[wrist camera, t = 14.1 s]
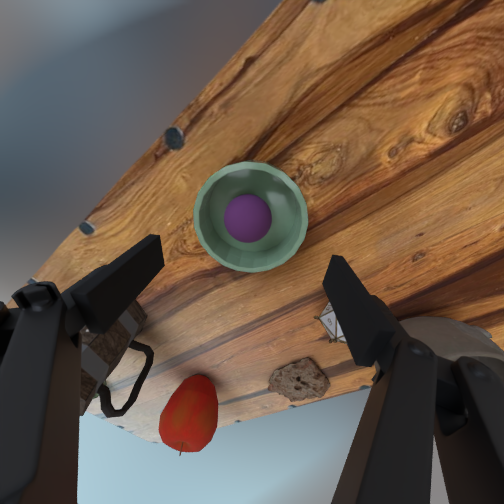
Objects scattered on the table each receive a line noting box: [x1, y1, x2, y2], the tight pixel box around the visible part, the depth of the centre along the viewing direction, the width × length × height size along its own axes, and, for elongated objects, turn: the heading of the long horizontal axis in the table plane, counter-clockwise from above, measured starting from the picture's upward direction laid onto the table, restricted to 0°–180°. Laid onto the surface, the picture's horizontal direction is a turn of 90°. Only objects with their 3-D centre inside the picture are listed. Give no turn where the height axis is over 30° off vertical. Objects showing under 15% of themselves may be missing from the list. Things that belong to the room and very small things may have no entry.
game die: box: [314, 301, 347, 344], centre depth 30 cm, size 9×8×10 cm
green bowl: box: [193, 160, 308, 273], centre depth 24 cm, size 13×13×6 cm
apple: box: [159, 374, 218, 455], centre depth 42 cm, size 12×12×14 cm
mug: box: [80, 300, 154, 418], centre depth 33 cm, size 20×14×15 cm
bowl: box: [374, 316, 504, 383], centre depth 32 cm, size 17×18×10 cm
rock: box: [268, 358, 330, 402], centre depth 44 cm, size 14×13×4 cm
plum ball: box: [224, 194, 272, 243], centre depth 23 cm, size 6×6×6 cm
